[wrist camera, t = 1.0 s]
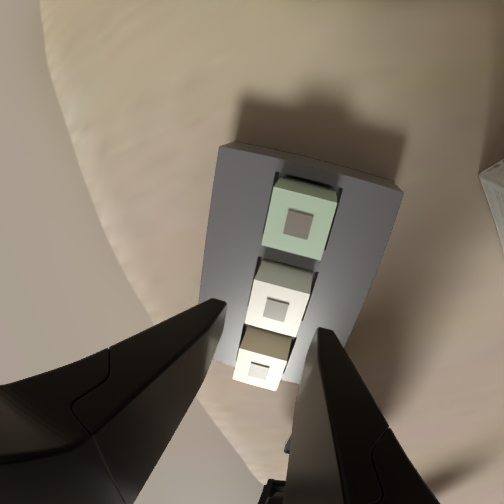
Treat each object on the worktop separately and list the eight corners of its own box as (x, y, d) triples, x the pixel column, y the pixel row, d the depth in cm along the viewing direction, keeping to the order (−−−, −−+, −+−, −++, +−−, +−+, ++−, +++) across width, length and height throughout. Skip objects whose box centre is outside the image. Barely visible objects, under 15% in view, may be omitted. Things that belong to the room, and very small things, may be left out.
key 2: (282, 364, 22) (275, 392, 20) (242, 353, 23) (232, 380, 20) (292, 334, 21) (286, 362, 19) (249, 322, 21) (238, 349, 19)
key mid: (300, 310, 20) (295, 338, 18) (254, 298, 20) (244, 324, 18) (312, 270, 19) (309, 295, 16) (264, 257, 19) (253, 280, 17)
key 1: (321, 240, 18) (320, 261, 15) (270, 226, 18) (260, 245, 16) (335, 189, 17) (337, 203, 14) (281, 175, 17) (273, 187, 14)
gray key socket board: (325, 362, 24) (323, 389, 22) (206, 330, 26) (193, 353, 23) (392, 181, 18) (403, 192, 15) (234, 141, 19) (219, 146, 16)
